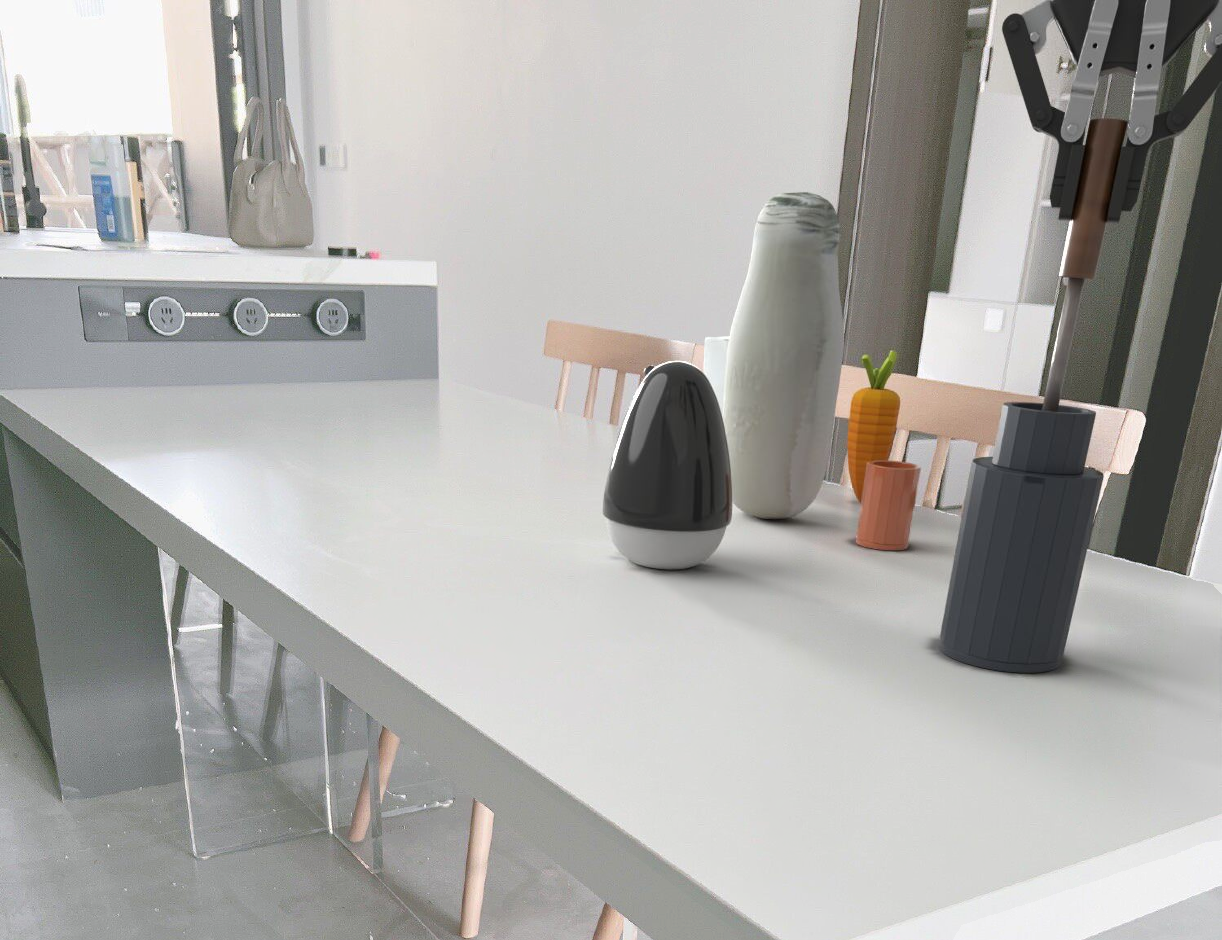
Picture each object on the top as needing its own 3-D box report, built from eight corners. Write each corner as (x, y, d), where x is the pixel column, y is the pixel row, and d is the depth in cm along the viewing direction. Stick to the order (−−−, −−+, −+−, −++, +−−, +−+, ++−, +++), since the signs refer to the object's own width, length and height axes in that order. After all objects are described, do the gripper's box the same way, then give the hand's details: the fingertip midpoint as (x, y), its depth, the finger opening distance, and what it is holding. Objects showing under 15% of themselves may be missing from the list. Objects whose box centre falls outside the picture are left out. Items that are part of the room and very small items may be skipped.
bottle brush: (1042, 551, 78) (1133, 123, 68) (1041, 559, 76) (1134, 118, 66) (1000, 546, 79) (1084, 122, 69) (998, 554, 77) (1084, 116, 67)
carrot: (840, 505, 126) (862, 350, 120) (834, 496, 131) (854, 346, 124) (888, 508, 126) (912, 353, 120) (881, 499, 131) (903, 350, 124)
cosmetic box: (782, 482, 137) (798, 340, 130) (742, 486, 133) (758, 340, 127) (730, 470, 142) (744, 333, 136) (691, 473, 139) (704, 332, 133)
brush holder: (910, 543, 111) (923, 464, 108) (904, 553, 107) (917, 471, 104) (860, 536, 112) (871, 458, 109) (851, 546, 108) (863, 465, 105)
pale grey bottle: (840, 522, 118) (885, 197, 106) (764, 531, 112) (803, 187, 100) (767, 503, 125) (801, 196, 113) (692, 510, 119) (721, 187, 107)
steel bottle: (1062, 648, 83) (1116, 408, 76) (1060, 680, 76) (1118, 420, 69) (944, 630, 85) (987, 396, 78) (932, 660, 78) (978, 407, 72)
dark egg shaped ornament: (691, 545, 105) (707, 356, 98) (749, 575, 96) (771, 370, 90) (579, 548, 101) (589, 352, 94) (630, 580, 92) (644, 366, 86)
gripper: (1302, -137, 64) (1212, 231, 71) (1027, -132, 68) (969, 217, 75) (1326, -185, 57) (1225, 226, 65) (1021, -175, 61) (958, 211, 68)
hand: (1088, 219), depth 70 cm, fingers closed on bottle brush, 2 cm apart
